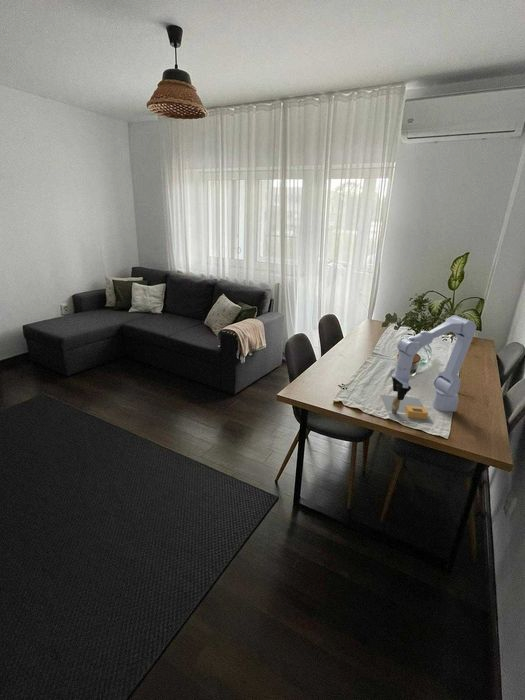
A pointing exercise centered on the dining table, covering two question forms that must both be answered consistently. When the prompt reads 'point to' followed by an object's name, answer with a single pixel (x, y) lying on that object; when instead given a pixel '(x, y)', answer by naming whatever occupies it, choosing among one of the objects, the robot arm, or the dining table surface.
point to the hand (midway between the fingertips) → (397, 395)
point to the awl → (395, 405)
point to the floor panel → (403, 408)
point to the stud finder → (416, 412)
